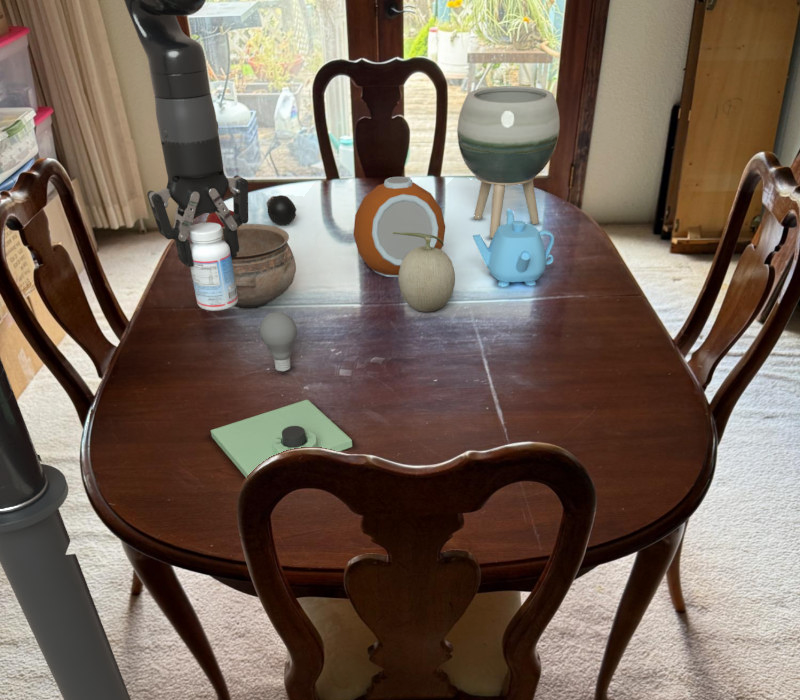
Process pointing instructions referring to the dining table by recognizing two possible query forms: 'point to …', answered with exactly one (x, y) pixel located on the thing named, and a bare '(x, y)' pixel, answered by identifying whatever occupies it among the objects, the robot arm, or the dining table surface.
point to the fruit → (426, 276)
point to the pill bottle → (212, 268)
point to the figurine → (281, 210)
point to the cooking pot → (262, 265)
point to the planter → (507, 142)
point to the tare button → (293, 436)
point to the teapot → (516, 252)
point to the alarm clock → (396, 224)
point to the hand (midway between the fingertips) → (210, 260)
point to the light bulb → (279, 337)
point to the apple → (216, 218)
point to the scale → (277, 434)
